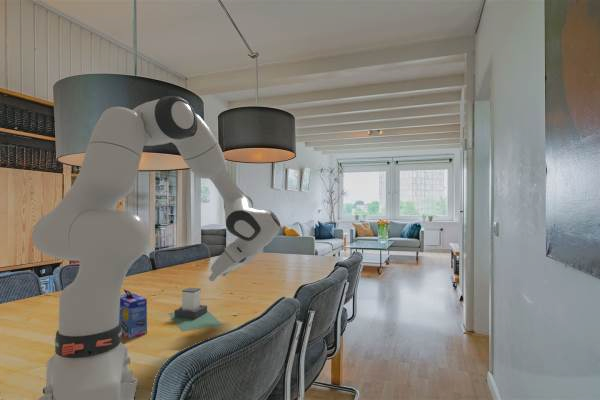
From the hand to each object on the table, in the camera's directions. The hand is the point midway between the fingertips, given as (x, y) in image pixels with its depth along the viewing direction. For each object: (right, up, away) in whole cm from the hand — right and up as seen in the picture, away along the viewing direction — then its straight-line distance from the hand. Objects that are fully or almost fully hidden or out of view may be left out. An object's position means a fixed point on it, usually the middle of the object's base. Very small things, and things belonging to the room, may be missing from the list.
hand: (217, 277), depth 121 cm
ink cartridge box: (-23, -15, -15) cm, 31 cm away
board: (-7, -15, -2) cm, 17 cm away
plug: (-10, -14, +2) cm, 17 cm away
